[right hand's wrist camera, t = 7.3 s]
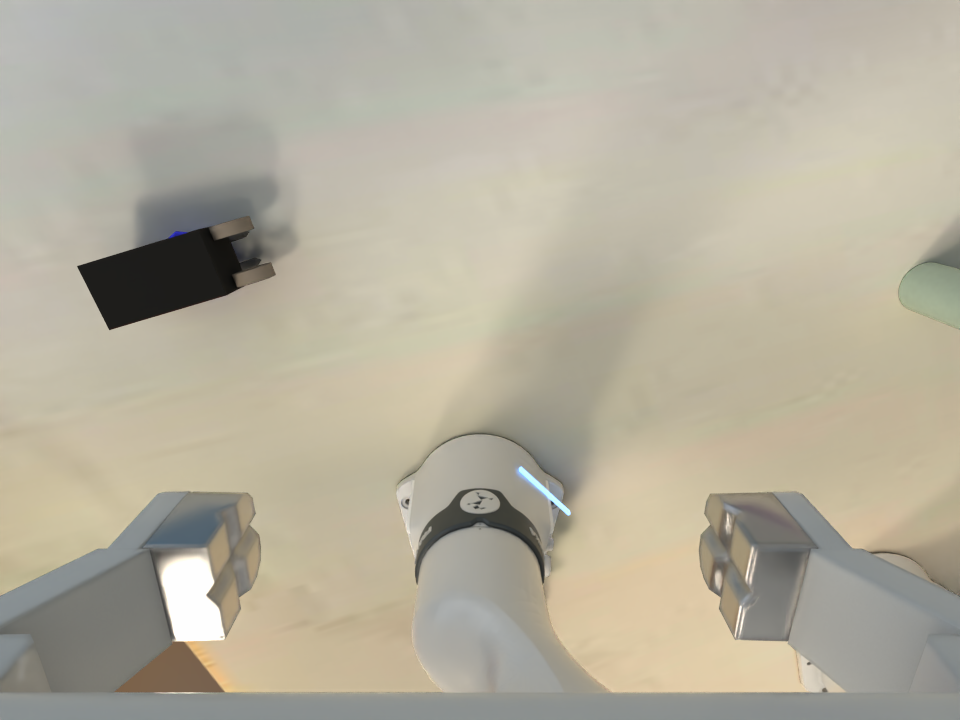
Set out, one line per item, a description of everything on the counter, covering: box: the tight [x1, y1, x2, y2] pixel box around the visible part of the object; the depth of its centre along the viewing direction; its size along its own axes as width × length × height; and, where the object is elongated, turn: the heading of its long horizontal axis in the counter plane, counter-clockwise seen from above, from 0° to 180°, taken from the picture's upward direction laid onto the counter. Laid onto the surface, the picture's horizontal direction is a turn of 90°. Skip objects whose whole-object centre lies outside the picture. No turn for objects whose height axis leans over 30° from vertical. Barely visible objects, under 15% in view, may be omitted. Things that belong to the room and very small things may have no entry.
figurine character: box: [77, 216, 276, 330], centre depth 54 cm, size 7×8×15 cm
